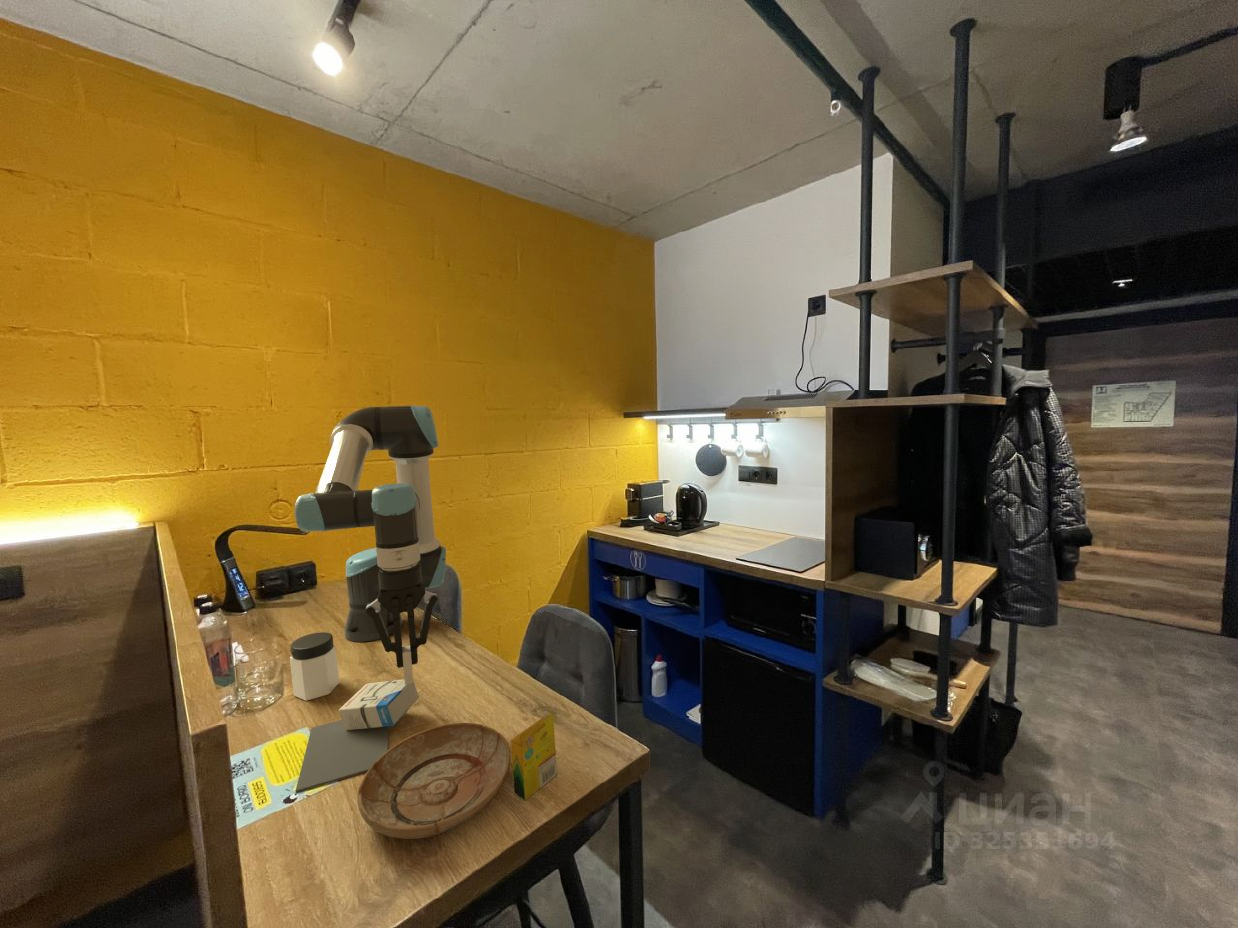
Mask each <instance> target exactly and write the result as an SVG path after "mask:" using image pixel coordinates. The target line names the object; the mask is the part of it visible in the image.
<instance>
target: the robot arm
mask: <svg viewBox="0 0 1238 928" xmlns="http://www.w3.org/2000/svg"><path fill="white" fill-rule="evenodd" d="M329 443H330V444H329V445H330V447H331V448H330V451H329V454H328V457H327V459H326V462H325V465H324V467H323V471H322V473H321V475H320V479H319V482H318V484H317V486H316V490H315V492H314V493H313V492H310V493H306V494H301V495H300V496H298V497H297V499H296V501H295V505H294V518H295V521H296V525H297V528H298V529H299V530H300V531H301V532H304V533H307V532H308V533H309V532H311V533H312V532H322V533H323V532H329V531H336V530H337V531H339V530H347V529H356V528H368V527H373V528H374V533H375V535H374V536H375V547H373V548H370V549H365V550H362V551H360V552H357V553H354V554H353V555H350V557H349V558H347V560H346V562H345V575H344V576H345V577H346V585H347V586H346V587H347V596H348V597H347V598H348V606H349V608H348V613H347V617H346V621H345V625H344V637H345V639H347V641H351V642H371V641H375V640H380V641H381V644H382V647H383V649H384V651H385V652H386V653H390V652H393V653H394V654H395V660H396V667H397V668H398V669H400V668H403V674H404V675H403V678H404V679H405V685H406V684H410V683H413V681H414V677H413V676H414V675H413V665H418V661H419V660H418V658H419V657H418V656H419V655H418V649H419V647H420V646H422V645H425V644H427V642H428V641H427V640H428V634H429V631H430V625H431V619H432V614H433V608H434V606H435V604H436V603H437V601H438V599H439V598H438V595H437V592H435V591H432V592H430V591H427V590H429V589H433V588H437V587H440V586H442V585H443V583H444V581H445V575H446V574H445V573H446V559H447V558H446V557H447V548H446V547H445V546H443V545H441V541H440V540H439V539H438V538H437V537H435V528H434V527H435V525H434V516H433V515H434V513H433V502H432V490H431V489H432V488H431V476H430V467H429V466H430V464H429V460H430V458H431V457H432V456H433V455H434V454H435V453H434V452H435V451H434V449H436V448H438V447H439V439H438V434H437V428H436V423H435V419H434V416H433V412H432V410H431V408H430V407H428V406H426V405H425V406H424V405H394V406H393V405H392V406H369V407H367V406H366V407H363V408H361V409H358V410H355V411H353V412H352V413H350V414H347V415H346V416H345V417H343V419H341V420H340V421H339V422H338V423H337V424H336V426H335V427H334V428H333V430H332V433H331V435H330V438H329ZM378 450H379V451H385V450H387V453H388V458H389V459H391V460H393V461H394V463H395V472H396V473H395V474H396V483H389V484H382V485H378V486H376V487H373V489H363V490H359V486H360V485H359V484H360V480H361V477H362V472H363V468H364V465H365V460H366V456H367V455H368V454H370V452H371V451H378ZM422 600H423V601H424V602H423V603H425V604H424V609H423V615H422V621H421V625H420V631H419V635H418V636H417V633H416V632H417V631H416V619H415V609H417V607H418V606H419V603H420V602H421V601H422ZM403 613H406V614H407V624H408V625H407V626H408V636H409V645H406V646H405V645H404V646H403V638H402V628H403V625H404V623H403V622H404V621H403V616H402V614H403ZM391 635H394V641H392V639H391Z"/></svg>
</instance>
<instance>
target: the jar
mask: <svg viewBox="0 0 1238 928" xmlns="http://www.w3.org/2000/svg"><path fill="white" fill-rule="evenodd" d="M333 637H334V635H332V633H330V632H326V631H325V632H323V631H321V632H320V631H319V632H314V633H309V634H306V635H303V636H301V637H299V638H297V639H295V640H293V641H292V642H291V645H290V654H291V656H289V664H290V665H289V666H290V672H291V681H292V690H293V696H294V697H296V698H299V699H301V700H302V701H303V700H304V701H305V702H307V701H311V700H314V699H317V698H321V697H324V696H327V695H329V694H331V693H332V691H333V690H334V689H335V688H336V687H337V686H338V685H339V684H340V677H339V676H340V675H339V665H338V664H339V663H338V655H337V646H336V645H335V644H334V638H333Z"/></svg>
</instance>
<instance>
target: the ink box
mask: <svg viewBox="0 0 1238 928" xmlns="http://www.w3.org/2000/svg"><path fill="white" fill-rule="evenodd" d="M419 698H420V697H419V692H418V690H417V686H416V684H415V681H414V680H413V683H410V684H406V685H405V678H404V679H403V678H402V679H395V680H385V681H377V682H369V683H366V684H364V685H363V686H362V687H361V688H360V689H359V690H358V691H357V692H356V693H355V694H354V695H353V696H352V697H350V699H348V700H347V701H346V702H345V703H344V705H342V706H341V707H340V708H339V710H338V713H339V715H340V718H341V720H342V721H343V724H344V727H345V729H346V730H354V729H365V728H375V727H385V726H388V727H392V726H393V727H394V726H396V724H397V723H398V722H399V721H400V720H401V719H402V718H403V716H405V714H406V713H407V712H408V711H409V710H410V709H411V707H412V706H413V705H414V704H415V703H416V702H417V701H418V699H419Z"/></svg>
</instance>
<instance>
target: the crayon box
mask: <svg viewBox="0 0 1238 928" xmlns="http://www.w3.org/2000/svg"><path fill="white" fill-rule="evenodd" d="M555 737H556V735H555V723H554V713H553V712H552V713H550V714H549V715H547V716H546V717H544V716H543V717H541V718H540V719H538V720H537V721H536V722H534V723H533V724H531V725H530V726H528V727H527V728H526V729H525V730H523V731H520V733H519V734H517V735H516V736H514V737H513V738H512V739H510V745H511V746H510V747H511V748H510V749H511V759H512V760H511V761H512V773H513V775H512V776H513V789H514V794H516V795H517V797H519V798H521V799H522V800H523V801H524V802H526V801H528V799H529V798H530V797H532V796H533V795H535V793H536V792H538V791H539V790H541V789H542V788H543V787H544V786H546V784H548V783H549V782H550V781H551V780H552V779H554V777H556V776H557V775H558V769H557V754H556V753H557V752H556V738H555Z"/></svg>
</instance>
